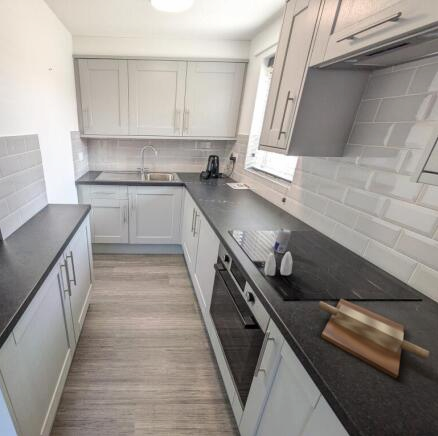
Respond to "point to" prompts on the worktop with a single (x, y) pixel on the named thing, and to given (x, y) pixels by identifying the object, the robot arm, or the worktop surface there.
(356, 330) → the rolling pin
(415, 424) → the worktop surface
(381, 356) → the pastry board
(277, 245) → the energy drink
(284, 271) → the shaker set
